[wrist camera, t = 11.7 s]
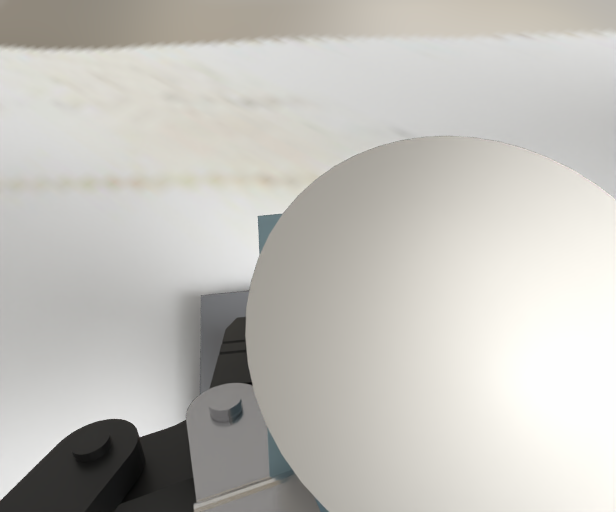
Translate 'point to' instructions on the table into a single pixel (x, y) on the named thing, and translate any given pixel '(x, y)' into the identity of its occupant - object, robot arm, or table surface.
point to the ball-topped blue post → (440, 332)
